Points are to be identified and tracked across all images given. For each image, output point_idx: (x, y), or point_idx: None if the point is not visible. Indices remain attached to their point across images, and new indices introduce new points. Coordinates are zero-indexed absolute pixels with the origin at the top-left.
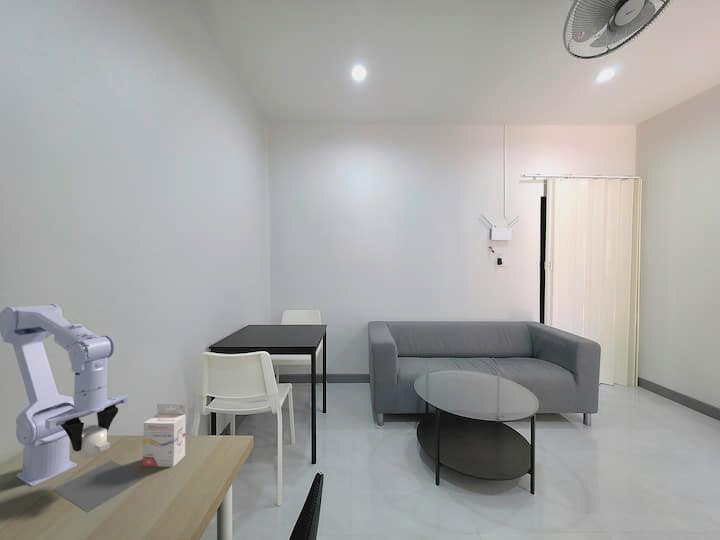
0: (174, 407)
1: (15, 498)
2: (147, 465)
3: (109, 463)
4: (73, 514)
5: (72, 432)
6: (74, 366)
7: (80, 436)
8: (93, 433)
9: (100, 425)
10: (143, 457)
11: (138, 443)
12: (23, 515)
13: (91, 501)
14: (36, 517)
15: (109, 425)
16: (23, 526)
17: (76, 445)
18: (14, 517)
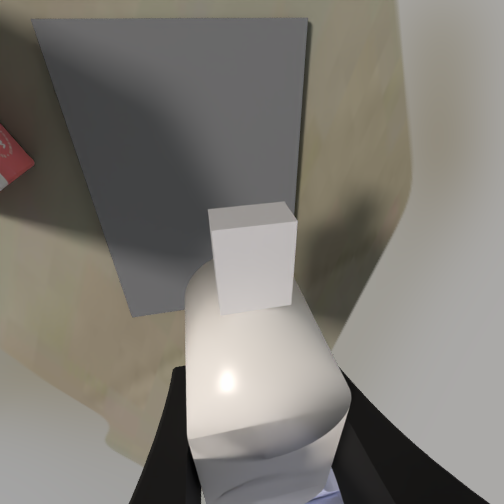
0: None
1: (331, 326)
2: (8, 139)
3: (141, 303)
4: (321, 87)
5: (475, 494)
6: None
7: (362, 432)
8: (282, 427)
9: (196, 498)
10: (7, 177)
11: (25, 358)
12: (363, 238)
13: (267, 93)
14: (361, 196)
15: (147, 474)
16: (391, 183)
17: (344, 375)
18: (373, 249)
